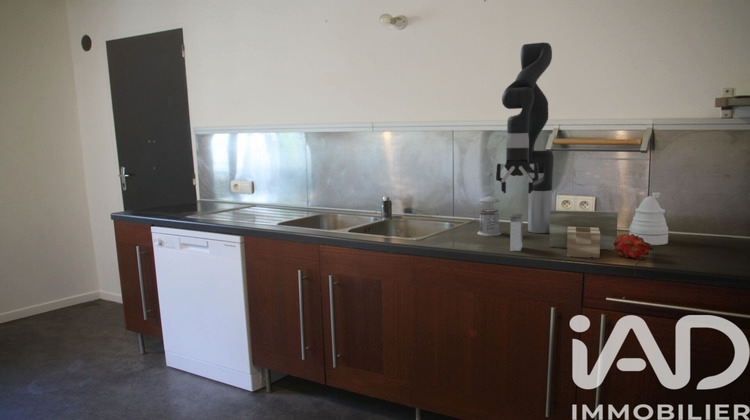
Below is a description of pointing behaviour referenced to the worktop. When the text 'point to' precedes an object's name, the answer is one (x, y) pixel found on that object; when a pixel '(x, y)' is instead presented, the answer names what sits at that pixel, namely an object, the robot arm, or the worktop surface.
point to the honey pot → (650, 222)
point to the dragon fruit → (632, 246)
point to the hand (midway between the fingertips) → (517, 193)
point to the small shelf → (583, 232)
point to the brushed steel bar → (516, 232)
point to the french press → (488, 216)
